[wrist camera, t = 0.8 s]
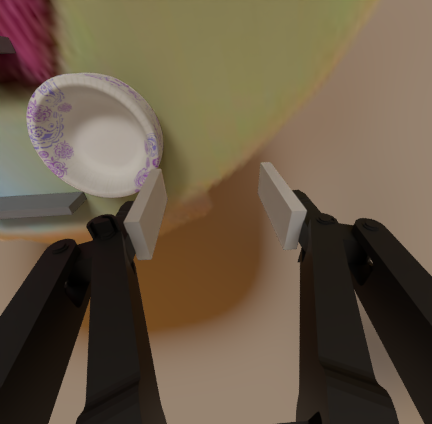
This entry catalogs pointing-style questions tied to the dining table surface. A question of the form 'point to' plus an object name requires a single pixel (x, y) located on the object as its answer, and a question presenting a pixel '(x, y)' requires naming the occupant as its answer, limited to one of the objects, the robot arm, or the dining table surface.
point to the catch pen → (37, 203)
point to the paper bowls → (95, 133)
